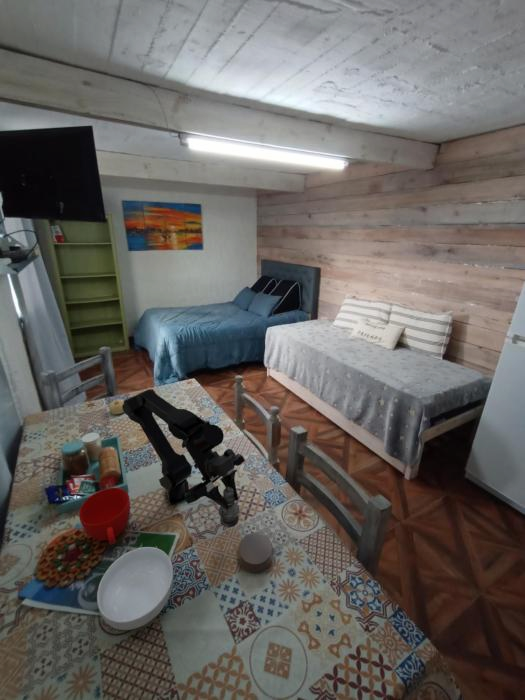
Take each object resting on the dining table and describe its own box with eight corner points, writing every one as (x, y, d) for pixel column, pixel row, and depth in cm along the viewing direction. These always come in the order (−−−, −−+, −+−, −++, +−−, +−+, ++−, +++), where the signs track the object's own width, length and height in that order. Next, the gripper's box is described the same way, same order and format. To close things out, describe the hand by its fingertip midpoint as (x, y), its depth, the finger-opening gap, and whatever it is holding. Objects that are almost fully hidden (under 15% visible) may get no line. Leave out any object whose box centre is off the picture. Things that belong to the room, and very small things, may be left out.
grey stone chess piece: (231, 532, 86) (230, 498, 81) (214, 522, 88) (212, 489, 84) (243, 516, 90) (243, 484, 86) (227, 507, 93) (226, 475, 89)
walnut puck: (249, 580, 80) (249, 571, 79) (233, 551, 87) (232, 542, 86) (278, 561, 85) (278, 552, 84) (260, 535, 92) (260, 527, 91)
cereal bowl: (177, 627, 71) (174, 607, 68) (96, 654, 66) (89, 633, 64) (174, 556, 86) (172, 538, 83) (108, 574, 82) (103, 555, 79)
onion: (107, 411, 153) (105, 398, 151) (124, 405, 158) (121, 393, 156) (113, 418, 148) (110, 405, 145) (130, 412, 153) (128, 399, 150)
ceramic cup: (89, 572, 82) (81, 545, 78) (84, 524, 95) (77, 499, 92) (141, 547, 88) (136, 521, 85) (129, 505, 102) (124, 481, 98)
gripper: (188, 466, 76) (222, 524, 74) (239, 429, 90) (270, 478, 88) (170, 476, 83) (201, 529, 81) (221, 441, 97) (248, 486, 95)
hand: (232, 504), depth 86 cm, fingers closed on grey stone chess piece, 3 cm apart
